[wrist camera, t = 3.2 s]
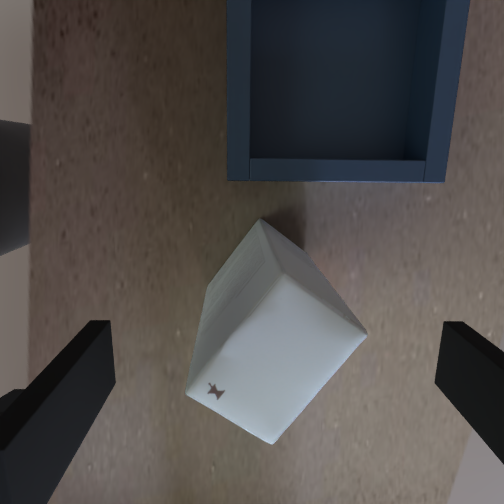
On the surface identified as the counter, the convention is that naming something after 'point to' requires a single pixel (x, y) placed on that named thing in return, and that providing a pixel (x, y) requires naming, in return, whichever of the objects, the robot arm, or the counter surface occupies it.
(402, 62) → the holder
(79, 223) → the counter surface
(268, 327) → the cosmetic box
